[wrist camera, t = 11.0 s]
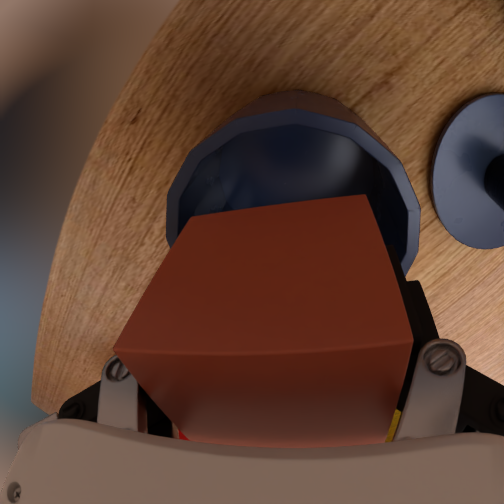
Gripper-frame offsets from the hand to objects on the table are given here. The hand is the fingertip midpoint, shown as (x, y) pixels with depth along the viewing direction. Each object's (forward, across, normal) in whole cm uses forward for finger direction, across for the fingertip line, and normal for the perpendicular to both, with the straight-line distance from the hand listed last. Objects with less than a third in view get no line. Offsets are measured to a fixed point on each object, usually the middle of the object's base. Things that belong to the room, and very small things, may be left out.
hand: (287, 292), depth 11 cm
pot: (+11, 0, 0) cm, 11 cm away
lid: (+11, -15, +1) cm, 19 cm away
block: (+1, 0, 0) cm, 1 cm away
